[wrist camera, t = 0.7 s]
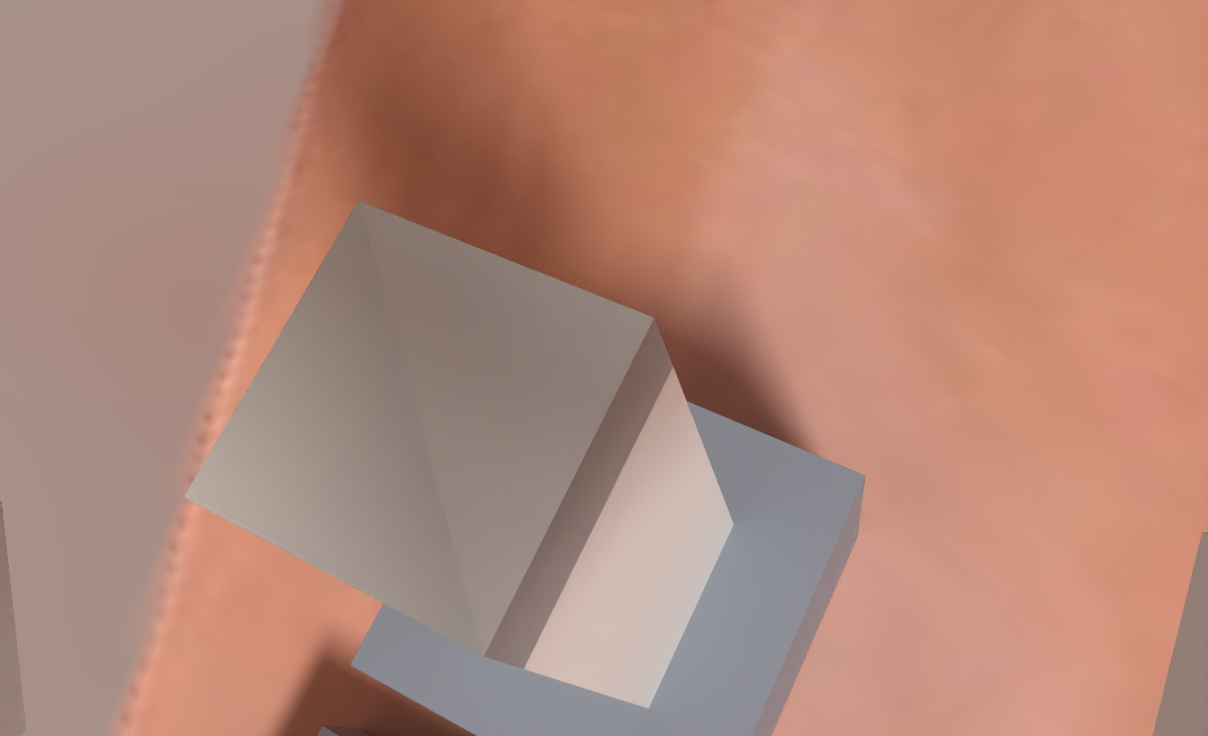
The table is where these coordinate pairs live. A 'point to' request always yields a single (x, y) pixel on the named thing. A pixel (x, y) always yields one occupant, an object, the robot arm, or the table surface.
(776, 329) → the table surface
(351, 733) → the socket block
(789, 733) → the table surface
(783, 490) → the stand
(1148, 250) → the table surface
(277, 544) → the plug
